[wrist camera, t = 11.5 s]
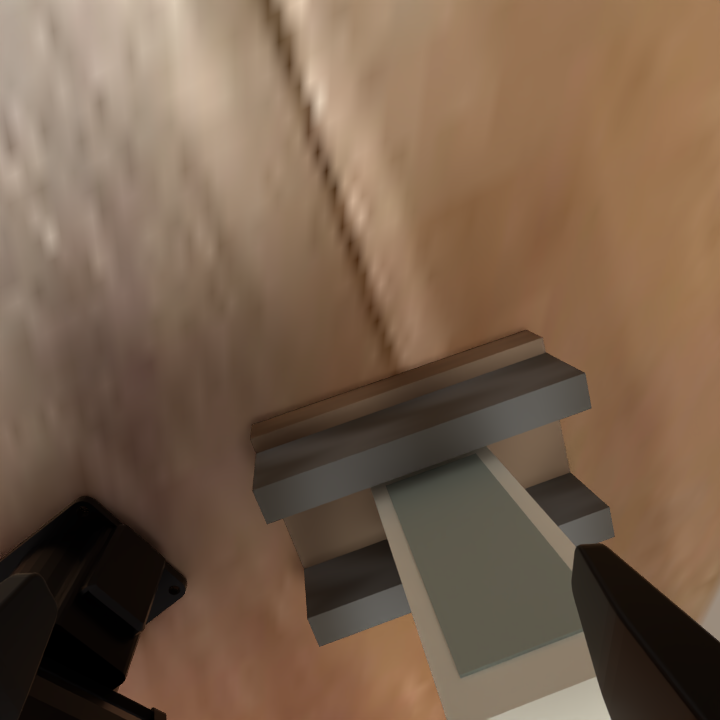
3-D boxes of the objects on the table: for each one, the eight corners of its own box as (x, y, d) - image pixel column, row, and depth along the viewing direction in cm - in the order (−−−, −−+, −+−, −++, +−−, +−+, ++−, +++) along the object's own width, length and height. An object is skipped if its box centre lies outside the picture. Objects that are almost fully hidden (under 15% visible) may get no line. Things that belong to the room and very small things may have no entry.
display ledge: (317, 584, 25) (324, 659, 21) (252, 424, 23) (245, 474, 18) (561, 494, 26) (617, 549, 22) (526, 330, 23) (581, 355, 19)
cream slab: (383, 525, 23) (484, 826, 12) (363, 465, 22) (450, 729, 11) (487, 488, 24) (682, 746, 12) (471, 427, 23) (666, 645, 11)
